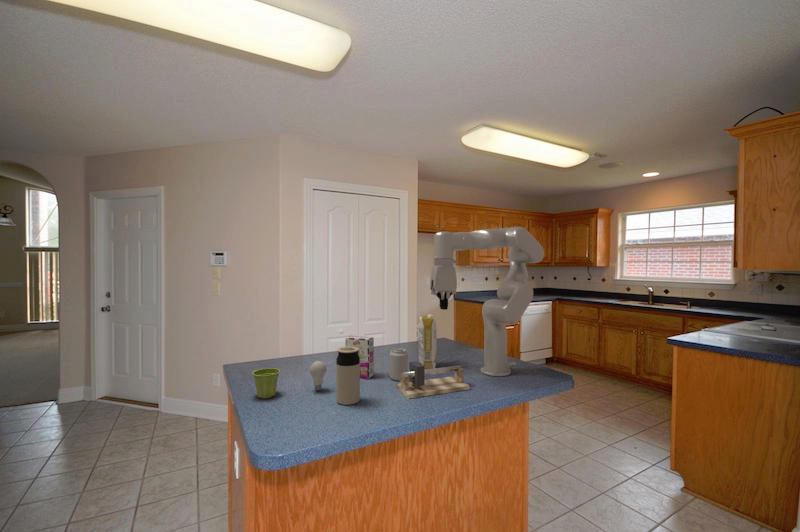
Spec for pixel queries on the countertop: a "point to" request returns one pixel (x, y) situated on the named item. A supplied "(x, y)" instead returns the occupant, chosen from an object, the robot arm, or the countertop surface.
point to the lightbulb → (318, 373)
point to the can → (398, 363)
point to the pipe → (434, 371)
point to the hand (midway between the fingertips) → (443, 309)
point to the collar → (417, 373)
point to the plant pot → (266, 381)
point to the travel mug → (348, 375)
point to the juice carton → (427, 341)
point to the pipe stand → (433, 385)
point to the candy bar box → (363, 354)
